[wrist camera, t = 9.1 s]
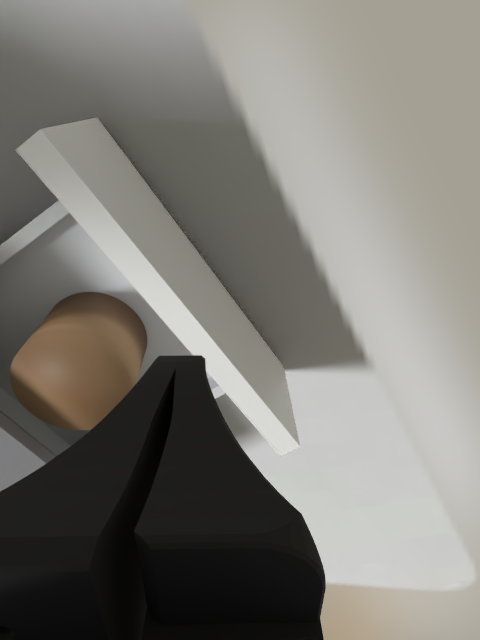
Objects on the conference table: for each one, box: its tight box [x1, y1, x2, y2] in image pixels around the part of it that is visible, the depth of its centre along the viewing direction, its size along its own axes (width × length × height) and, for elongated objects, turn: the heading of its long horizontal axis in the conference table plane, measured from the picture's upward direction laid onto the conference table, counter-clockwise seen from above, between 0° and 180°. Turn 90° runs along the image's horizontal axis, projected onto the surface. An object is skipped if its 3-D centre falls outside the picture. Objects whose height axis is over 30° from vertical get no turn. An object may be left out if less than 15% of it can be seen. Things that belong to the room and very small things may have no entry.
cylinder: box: [10, 292, 147, 430], centre depth 19 cm, size 5×5×4 cm
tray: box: [0, 117, 300, 456], centre depth 19 cm, size 15×14×6 cm
